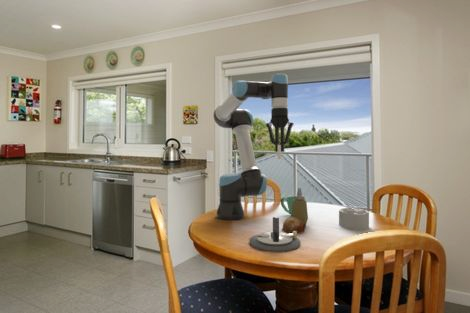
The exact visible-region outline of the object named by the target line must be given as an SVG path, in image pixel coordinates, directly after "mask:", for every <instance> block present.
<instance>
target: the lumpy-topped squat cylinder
mask: <svg viewBox="0 0 470 313" xmlns="http://www.w3.org/2000/svg"><path fill="white" fill-rule="evenodd" d="M338 226H340V228H341V227H342V228H345V229H348V230H353V231H354V230H355V231H365V230H366V229H369V227H370V212H369V211H367V210H365V209H363V208H360V207H358V206H355V207H353V208H352V207H351V206H346V207H344V208H341V209H338Z"/></svg>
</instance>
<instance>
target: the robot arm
mask: <svg viewBox="0 0 470 313" xmlns="http://www.w3.org/2000/svg"><path fill="white" fill-rule="evenodd" d="M288 89H289V81H288V75H287V74H286V73H273V74H272V75H271V79H270V81H268V82H265V81H251V80H234V82H233V84H232V87H231V90H232V92H231V94H230V95H229V96H227V98H226V100H224V101H223V103H222V104H221V105H219V106H217V107H216V109H215V110H214V111H213V120H214V122H215V123H216V125H217V126H219V127H221V128H224V129H231V132H232V134H234V135H235V141H236V145H237V150H238V156H239V159H240V160H239V161H240V165H241V172H231V173H226V174H222V175H221V176H220V177H219V183H218V186H219V192H218V193H219V205H218V207H217V211H216V218H217V219H220V220H224V221H232V220H233V221H236V220H240V219H243V218H245V211H244V207H243V204H242V197H257V196H260V195H264V194H265V192H266V190H267V187H268V186H267V185H268V180H267V179H268V178H267V176H266V175H265V174H264V173H262V171H261V169H260V168H258V165H257V161H256V157H255V153H254V152H255V151H254V147H253V143H252V138H251V135H250V134H251V133H250V131H251V129H252V127H253V125H254V117H253V114H252V112H251V111H250V110H249V109H244V108H240V109H239V107H241V105H243V103H244V102H245V101H247V99H249V98H258V99H261V100H269V99H271V100H270V101H271V102H270V103H271V114H270V115H271V119H270V121H269V122H267V123H265V126H266V128H267V130H268V133H269V139H270V141H271V144H273V145H275V147H274V148H275V152H277V160H282V159H283V152H285V145H287V144H288V143H289V140H290V137H291V136H290V135H291V132H292V131H291V130H292V128H293V127H294V125H295V124H294V122H292V121H290V119H289V115H288V114H289V109H288V106H289V102H288V98H289V96H288V94H289V90H288ZM286 126H287V130H286V134H285V128H286ZM272 127H273V128H274V131H273V128H272ZM279 131H280V132H279ZM279 141H280V142H279Z"/></svg>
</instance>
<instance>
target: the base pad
mask: <svg viewBox="0 0 470 313" xmlns="http://www.w3.org/2000/svg"><path fill="white" fill-rule="evenodd" d="M297 234H298V233H297V231H293V238H292V242H291V243H290V244H287V245H280V246H272V245H265V244H262V243H260V242H258V241H257V235H258V234H256V235H253V236H251V237H250V238H249V245H250V246H251V247H252V248H253V249H257V250H259V251H263V252H271V253H272V252H273V253H280V252H281V253H283V251H285V252H291V251H294V250H297V249H298V248H300V247H301V240H300V239H299V238H298V236H297ZM290 250H291V251H290Z"/></svg>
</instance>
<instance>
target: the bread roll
mask: <svg viewBox="0 0 470 313" xmlns="http://www.w3.org/2000/svg"><path fill="white" fill-rule="evenodd" d="M305 227H306V225H305V224H304V223H303V222H302V221H301V220H300V219H298V218H295V217H291V216H289V217H288V218H286V219H285V220H284V221H283V223H282V229H281V231H282V232H283V233H287V234H290V233H293V231H297V234H303V233H304V232H305V230H306V228H305Z"/></svg>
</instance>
